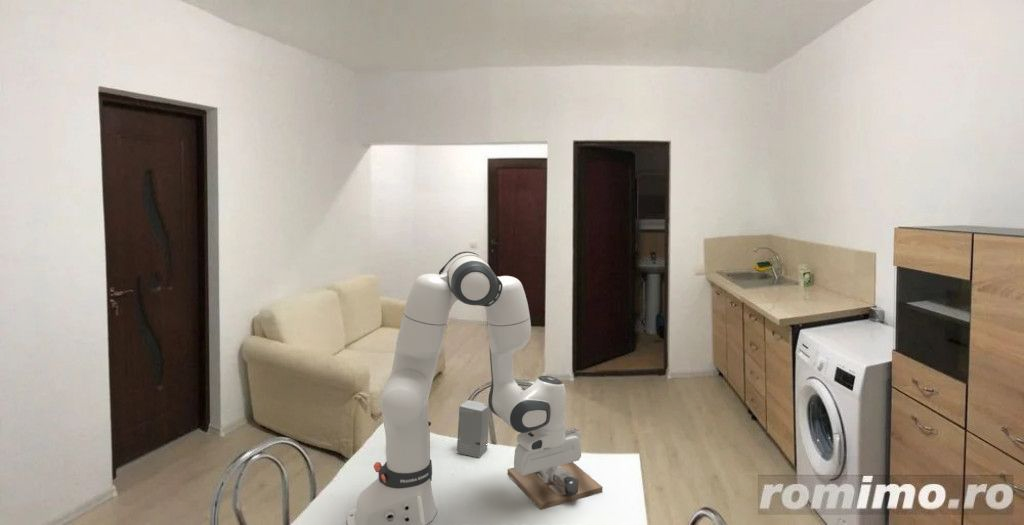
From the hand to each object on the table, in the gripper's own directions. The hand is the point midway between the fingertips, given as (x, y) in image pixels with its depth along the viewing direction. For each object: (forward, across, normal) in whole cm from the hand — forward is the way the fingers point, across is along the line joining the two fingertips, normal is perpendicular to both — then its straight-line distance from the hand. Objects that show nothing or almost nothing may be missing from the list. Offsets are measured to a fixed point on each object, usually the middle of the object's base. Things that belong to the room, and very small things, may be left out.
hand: (547, 481), depth 150 cm
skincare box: (+4, +8, -32) cm, 33 cm away
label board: (+4, -5, -4) cm, 7 cm away
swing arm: (+1, -3, -1) cm, 4 cm away
